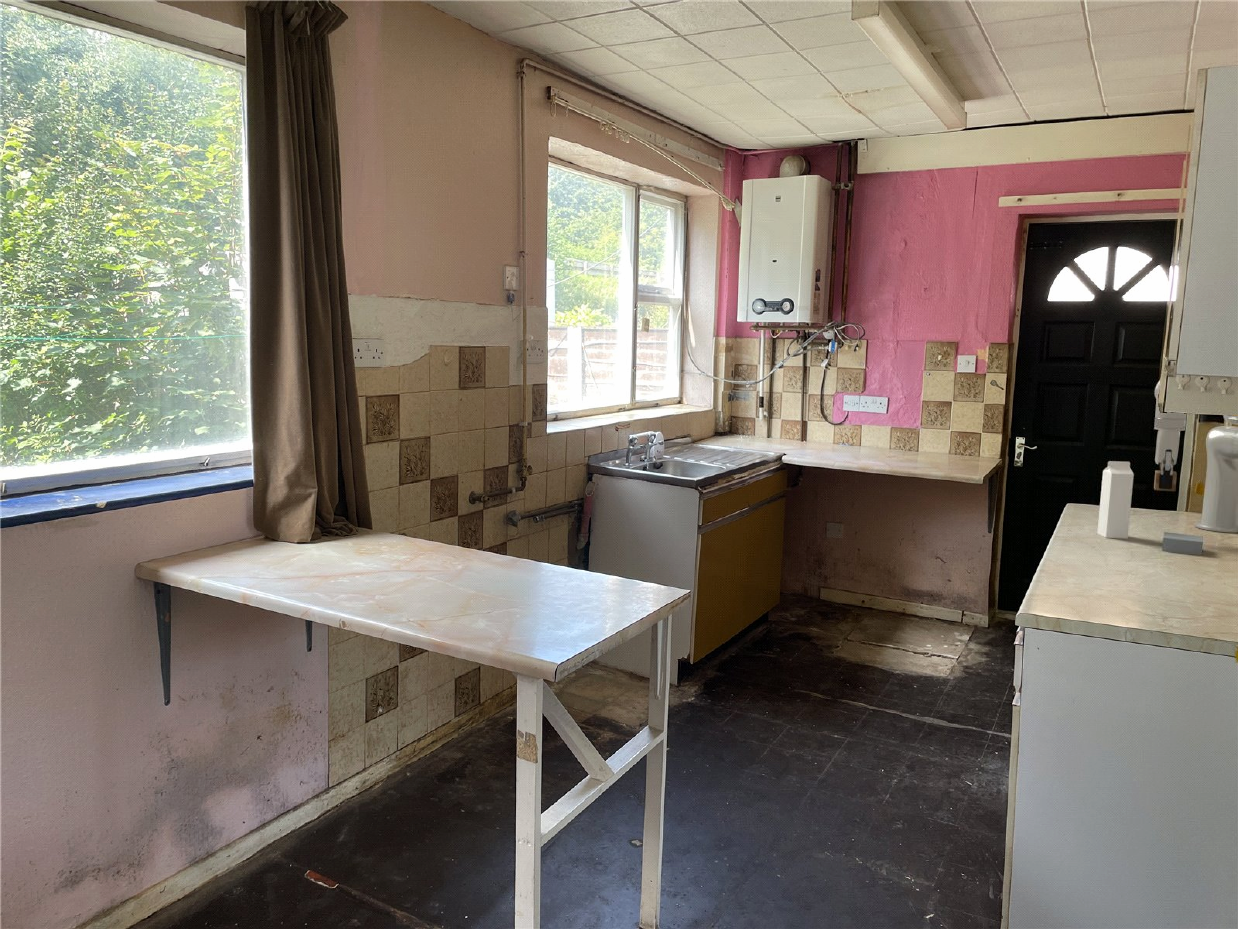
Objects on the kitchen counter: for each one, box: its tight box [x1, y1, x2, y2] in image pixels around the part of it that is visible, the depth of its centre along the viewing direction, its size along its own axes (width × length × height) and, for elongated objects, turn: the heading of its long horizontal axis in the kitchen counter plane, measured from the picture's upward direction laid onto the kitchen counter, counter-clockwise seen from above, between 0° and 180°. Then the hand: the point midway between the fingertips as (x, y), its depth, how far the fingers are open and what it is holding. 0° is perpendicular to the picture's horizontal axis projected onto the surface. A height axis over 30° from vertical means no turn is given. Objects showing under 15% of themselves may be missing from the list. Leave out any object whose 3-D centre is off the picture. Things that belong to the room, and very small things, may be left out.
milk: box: [1096, 460, 1135, 540], centre depth 253 cm, size 6×6×22 cm
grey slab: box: [1161, 531, 1204, 557], centre depth 238 cm, size 9×9×4 cm
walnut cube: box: [1153, 470, 1178, 492], centre depth 251 cm, size 5×5×5 cm
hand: (1164, 486), depth 251 cm, fingers closed on walnut cube, 5 cm apart
